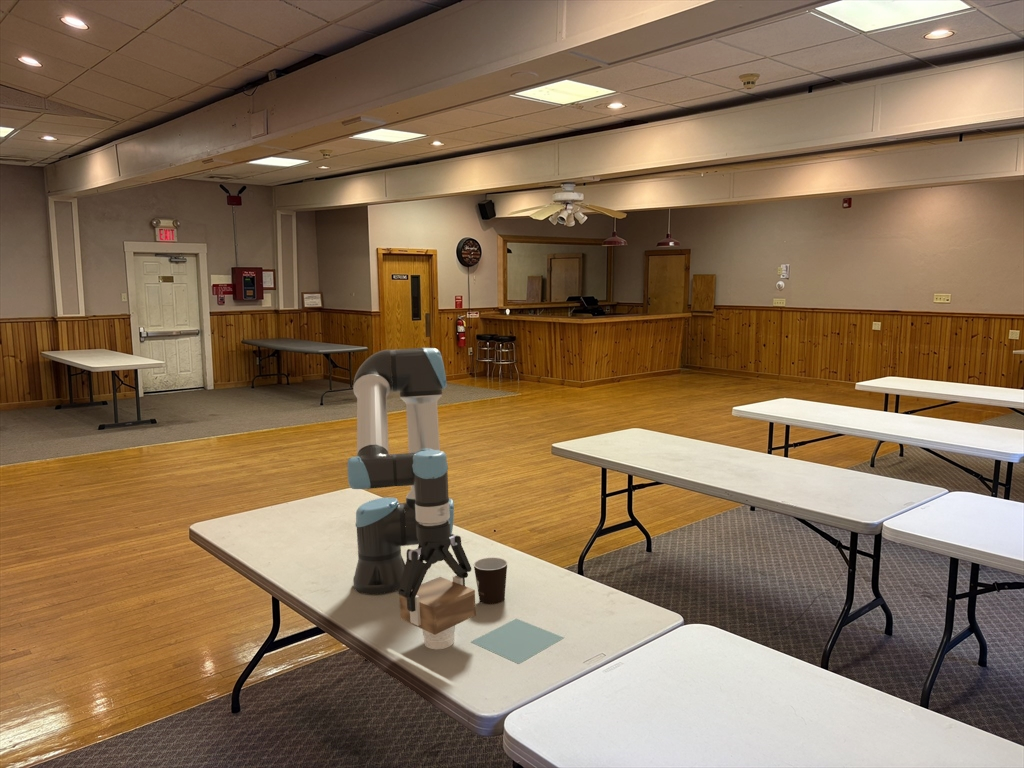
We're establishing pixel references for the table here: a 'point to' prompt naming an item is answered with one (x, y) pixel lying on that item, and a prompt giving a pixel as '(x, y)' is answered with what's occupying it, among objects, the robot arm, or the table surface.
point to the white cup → (439, 638)
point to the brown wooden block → (441, 605)
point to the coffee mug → (491, 579)
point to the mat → (517, 640)
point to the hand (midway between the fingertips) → (437, 613)
